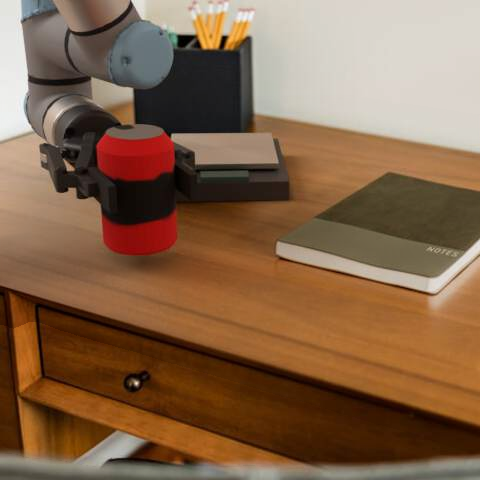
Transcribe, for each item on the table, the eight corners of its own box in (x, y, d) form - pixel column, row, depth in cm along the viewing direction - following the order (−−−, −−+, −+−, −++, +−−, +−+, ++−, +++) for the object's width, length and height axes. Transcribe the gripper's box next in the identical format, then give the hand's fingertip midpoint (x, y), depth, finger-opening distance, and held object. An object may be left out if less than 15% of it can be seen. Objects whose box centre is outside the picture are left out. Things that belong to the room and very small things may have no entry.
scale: (160, 202, 111) (158, 178, 110) (165, 156, 129) (164, 135, 127) (289, 199, 114) (289, 176, 113) (277, 154, 131) (277, 134, 130)
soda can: (151, 224, 99) (146, 118, 95) (191, 244, 94) (188, 133, 90) (89, 240, 94) (81, 129, 90) (128, 263, 89) (121, 146, 85)
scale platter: (168, 170, 114) (168, 164, 114) (171, 138, 127) (171, 133, 126) (278, 168, 116) (278, 162, 116) (271, 138, 129) (271, 132, 129)
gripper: (169, 155, 112) (249, 213, 95) (-3, 176, 102) (51, 246, 84) (167, 95, 109) (249, 144, 92) (-10, 111, 99) (44, 170, 81)
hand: (154, 193), depth 88 cm, fingers closed on soda can, 8 cm apart
